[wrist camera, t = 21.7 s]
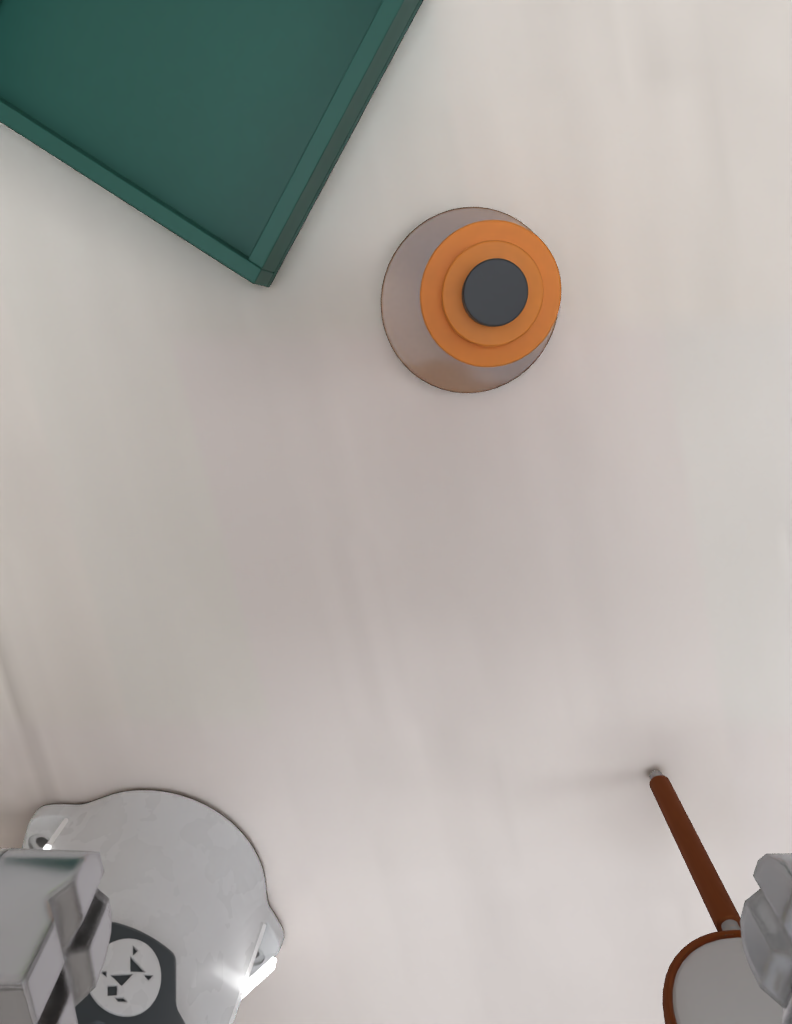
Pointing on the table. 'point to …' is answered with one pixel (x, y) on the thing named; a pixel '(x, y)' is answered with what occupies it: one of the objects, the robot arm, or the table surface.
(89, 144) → the tray
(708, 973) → the magnifying glass
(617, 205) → the table surface
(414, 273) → the coaster
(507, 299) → the glue bottle
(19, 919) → the robot arm
